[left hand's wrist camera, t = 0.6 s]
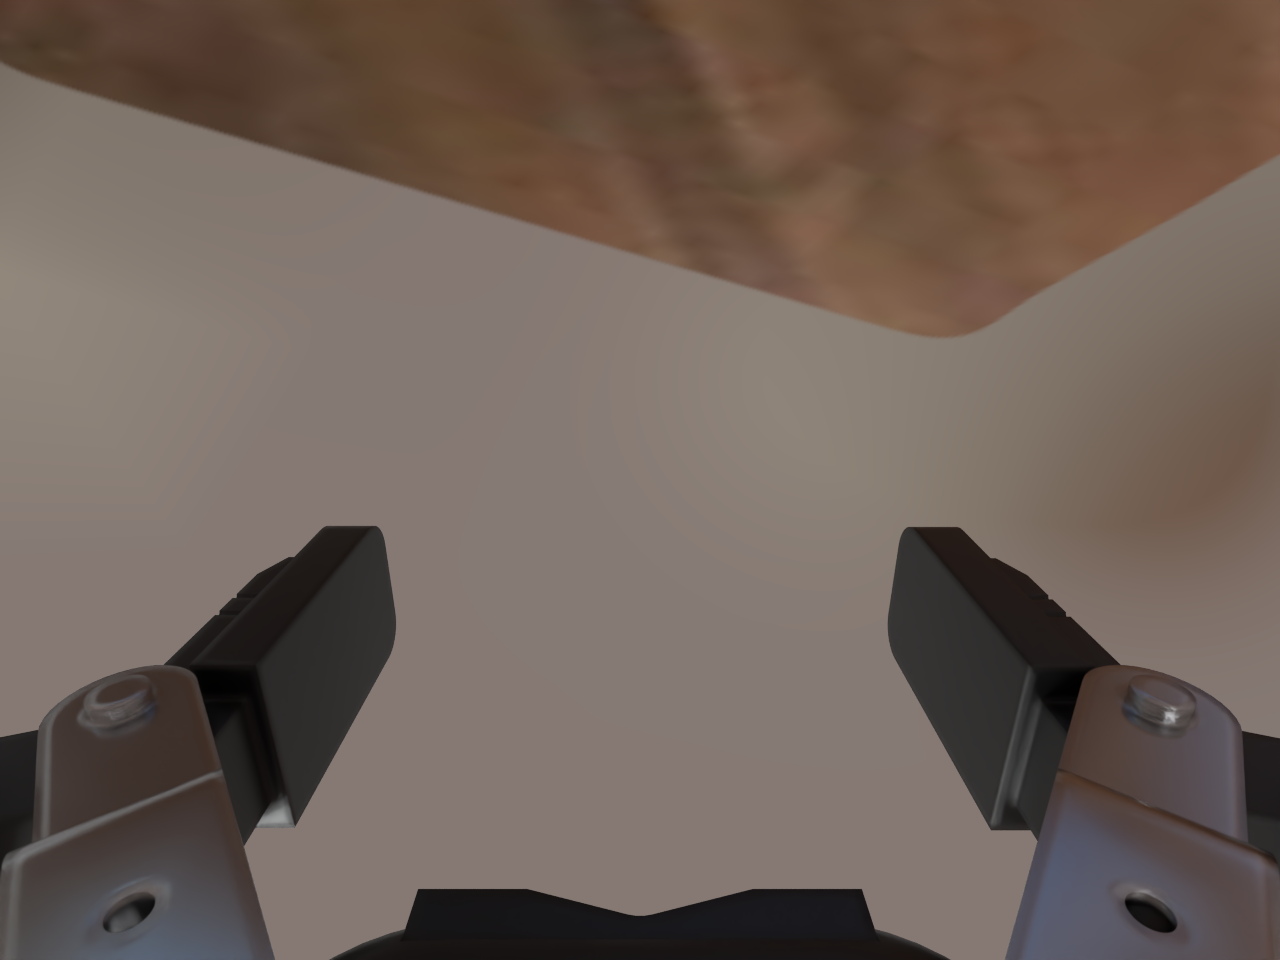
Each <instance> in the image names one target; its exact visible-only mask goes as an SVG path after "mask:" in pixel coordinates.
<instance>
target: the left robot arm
mask: <svg viewBox="0 0 1280 960" xmlns="http://www.w3.org/2000/svg"><path fill="white" fill-rule="evenodd" d="M395 632H396V615H395V608H394V601H393V594H392V587H391V581H390V574H389V567H388V560H387V553H386V547H385V541H384V537H383V534H382V532H381V530H380V529H379V528H378V527H377V526H326V527H324V528H322V529H321V530H320V531H319V532H318V533H317V534H316V535H315V537H314V538H313V539H312V540H311V541H310V542H309V543H308V544H307V545H306V546H305V547H304V548H303V549H302V550H301V551H300V552H299V553H298V554H297V555H296V556H295V557H288V558H286V559H284V560H283V561H281V562H279V563H277V564H275V565H273V566H272V567H270V568H268V569H266V570H264V571H262V572H260V573H259V574H257V575H256V576H255V577H254V578H253V579H252V580H251V581H250V582H249V583H248V584H247V585H246V586H245V587H244V588H243V589H242V590H241V591H239V592H238V593H237V598H232V599H231V600H230V601H229V602H228V603H227V604H226V605H225V606H224V607H223V608H222V609H221V610H220V614H219V615H215V616H214V617H213V618H212V619H211V620H210V621H209V622H207V623H206V624H205V625H204V626H203V627H202V628H201V629H200V630H199V631H198V632H197V633H196V634H195V635H194V636H193V637H192V638H191V639H190V640H189V641H188V642H187V643H186V644H185V645H184V646H183V647H182V648H181V649H180V650H179V651H178V652H177V653H175V654H174V655H173V656H172V657H171V658H170V659H169V660H168V661H167V662H166V663H165V664H164V665H154V666H145V667H140V668H135V669H130V670H126V671H123V672H119V673H116V674H113V675H110V676H107V677H105V678H102V679H100V680H97V681H95V682H93V683H91V684H89V685H87V686H85V687H83V688H81V689H79V690H77V691H76V692H74V693H72V694H71V695H69V696H68V697H66V698H65V699H63V700H62V701H61V702H60V703H58V704H57V705H56V706H55V707H54V708H53V709H51V710H50V712H49V713H48V714H47V715H46V716H45V717H44V719H43V720H42V722H41V724H40V726H39V730H35V731H31V732H26V733H20V734H15V735H10V736H5V737H0V960H275V957H274V954H273V950H272V946H271V943H270V939H269V935H268V932H267V928H266V925H265V921H264V918H263V914H262V910H261V907H260V903H259V900H258V896H257V892H256V889H255V885H254V881H253V878H252V874H251V871H250V867H249V863H248V860H247V856H246V853H245V849H244V845H245V843H246V842H247V840H248V839H249V837H250V835H251V834H252V832H253V830H254V829H255V828H295V826H296V824H297V822H298V821H299V819H300V817H301V815H302V813H303V812H304V810H305V808H306V806H307V804H308V802H309V801H310V799H311V797H312V795H313V794H314V792H315V790H316V788H317V786H318V784H319V783H320V781H321V779H322V777H323V776H324V774H325V772H326V770H327V768H328V766H329V765H330V763H331V761H332V759H333V757H334V756H335V754H336V752H337V750H338V748H339V747H340V745H341V743H342V741H343V739H344V738H345V736H346V734H347V732H348V730H349V729H350V727H351V725H352V723H353V721H354V719H355V718H356V716H357V714H358V712H359V710H360V709H361V707H362V705H363V703H364V701H365V700H366V698H367V696H368V694H369V692H370V691H371V689H372V687H373V685H374V683H375V682H376V680H377V678H378V676H379V674H380V673H381V671H382V669H383V667H384V665H385V663H386V662H387V660H388V658H389V656H390V654H391V651H392V648H393V645H394V640H395ZM888 636H889V642H890V647H891V650H892V653H893V656H894V658H895V660H896V661H897V663H898V665H899V667H900V669H901V670H902V672H903V674H904V676H905V677H906V679H907V681H908V683H909V685H910V686H911V688H912V690H913V692H914V694H915V695H916V697H917V699H918V701H919V703H920V704H921V706H922V708H923V710H924V711H925V713H926V715H927V717H928V719H929V720H930V722H931V724H932V726H933V728H934V729H935V731H936V733H937V735H938V736H939V738H940V740H941V742H942V744H943V745H944V747H945V749H946V751H947V752H948V754H949V756H950V758H951V760H952V761H953V763H954V765H955V767H956V769H957V770H958V772H959V774H960V776H961V777H962V779H963V781H964V783H965V785H966V786H967V788H968V790H969V792H970V794H971V795H972V797H973V799H974V801H975V802H976V804H977V806H978V808H979V810H980V811H981V813H982V815H983V817H984V818H985V820H986V822H987V824H988V826H989V827H990V829H991V830H1031V831H1032V833H1033V834H1034V836H1035V838H1036V839H1037V841H1038V842H1037V845H1036V849H1035V853H1034V856H1033V860H1032V863H1031V867H1030V871H1029V874H1028V878H1027V881H1026V885H1025V889H1024V892H1023V896H1022V899H1021V903H1020V907H1019V910H1018V914H1017V917H1016V921H1015V925H1014V928H1013V932H1012V935H1011V939H1010V943H1009V947H1008V950H1007V954H1006V957H1005V960H1280V738H1275V737H1270V736H1265V735H1259V734H1254V733H1249V732H1244V731H1242V730H1241V726H1240V724H1239V722H1238V721H1237V719H1236V717H1235V716H1234V715H1233V714H1232V713H1231V712H1230V710H1229V709H1227V708H1226V707H1225V706H1224V705H1223V704H1222V703H1221V702H1219V701H1218V700H1216V699H1215V698H1214V697H1212V696H1211V695H1209V694H1208V693H1206V692H1204V691H1203V690H1201V689H1199V688H1197V687H1195V686H1193V685H1191V684H1189V683H1187V682H1185V681H1183V680H1180V679H1178V678H1175V677H1173V676H1170V675H1167V674H1164V673H1161V672H1157V671H1154V670H1150V669H1146V668H1140V667H1135V666H1126V665H1120V664H1119V663H1118V662H1117V661H1116V660H1115V659H1114V658H1113V657H1112V656H1111V655H1110V654H1109V653H1108V652H1107V651H1106V650H1104V648H1102V647H1101V646H1100V645H1099V644H1098V643H1097V642H1096V641H1095V640H1094V639H1093V638H1092V637H1091V636H1090V635H1089V634H1088V633H1087V632H1086V631H1085V630H1084V629H1083V628H1082V627H1081V626H1080V625H1078V624H1077V623H1076V622H1075V621H1074V620H1073V619H1072V618H1071V617H1066V612H1065V611H1064V610H1063V609H1062V608H1061V607H1060V606H1059V605H1058V604H1057V603H1056V602H1054V600H1049V599H1048V595H1047V594H1046V593H1045V592H1044V591H1043V590H1042V589H1041V588H1040V587H1039V586H1038V585H1037V584H1036V583H1035V582H1034V581H1033V580H1032V579H1031V578H1030V577H1029V576H1027V575H1026V574H1024V573H1022V572H1020V571H1018V570H1016V569H1015V568H1013V567H1011V566H1009V565H1007V564H1005V563H1003V562H1002V561H1000V560H998V559H996V558H990V557H989V556H988V555H987V554H986V553H985V552H984V551H983V550H982V549H981V548H980V547H979V546H978V545H977V544H976V543H975V542H974V541H973V540H972V539H971V538H970V537H969V536H968V535H967V534H966V533H965V532H964V531H963V530H962V529H961V528H958V527H908V528H906V529H905V530H904V531H903V533H902V535H901V538H900V542H899V547H898V554H897V561H896V567H895V574H894V581H893V588H892V594H891V601H890V607H889V614H888ZM330 960H950V959H948V958H947V957H945V956H943V955H941V954H939V953H936V952H934V951H932V950H930V949H928V948H926V947H924V946H922V945H920V944H918V943H915V942H912V941H910V940H907V939H904V938H901V937H899V936H896V935H893V934H890V933H887V932H883V931H880V930H876V929H874V925H873V922H872V919H871V916H870V913H869V910H868V907H867V904H866V901H865V898H864V895H863V891H862V889H752V890H747V891H743V892H740V893H736V894H732V895H728V896H724V897H720V898H716V899H712V900H708V901H704V902H700V903H696V904H692V905H688V906H684V907H680V908H676V909H672V910H669V911H664V912H660V913H657V914H653V915H647V916H633V915H627V914H623V913H619V912H615V911H612V910H608V909H604V908H600V907H596V906H592V905H588V904H584V903H580V902H576V901H572V900H568V899H564V898H560V897H556V896H552V895H548V894H544V893H541V892H537V891H533V890H529V889H418V891H417V895H416V898H415V901H414V904H413V907H412V910H411V913H410V916H409V919H408V923H407V925H406V929H404V930H400V931H397V932H393V933H390V934H387V935H384V936H382V937H379V938H376V939H373V940H370V941H368V942H365V943H362V944H360V945H358V946H356V947H354V948H352V949H350V950H348V951H346V952H344V953H342V954H339V955H337V956H335V957H333V958H332V959H330Z"/></svg>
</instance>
